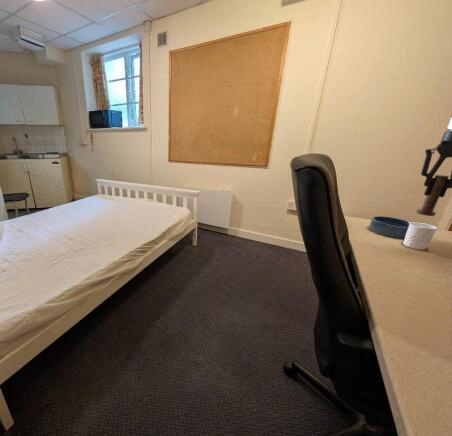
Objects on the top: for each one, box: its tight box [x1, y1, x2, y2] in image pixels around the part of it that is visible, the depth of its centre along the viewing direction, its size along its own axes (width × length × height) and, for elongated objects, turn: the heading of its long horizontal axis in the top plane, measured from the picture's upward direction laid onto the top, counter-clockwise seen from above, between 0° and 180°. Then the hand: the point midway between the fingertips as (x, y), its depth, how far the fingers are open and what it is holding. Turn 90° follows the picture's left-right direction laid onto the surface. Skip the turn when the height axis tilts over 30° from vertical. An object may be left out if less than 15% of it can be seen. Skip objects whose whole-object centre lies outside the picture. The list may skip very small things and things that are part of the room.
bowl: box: [368, 215, 412, 239], centre depth 110 cm, size 15×16×6 cm
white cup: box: [403, 221, 438, 251], centre depth 96 cm, size 8×8×10 cm
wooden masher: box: [415, 174, 450, 217], centre depth 85 cm, size 5×5×15 cm
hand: (433, 195), depth 85 cm, fingers closed on wooden masher, 3 cm apart
